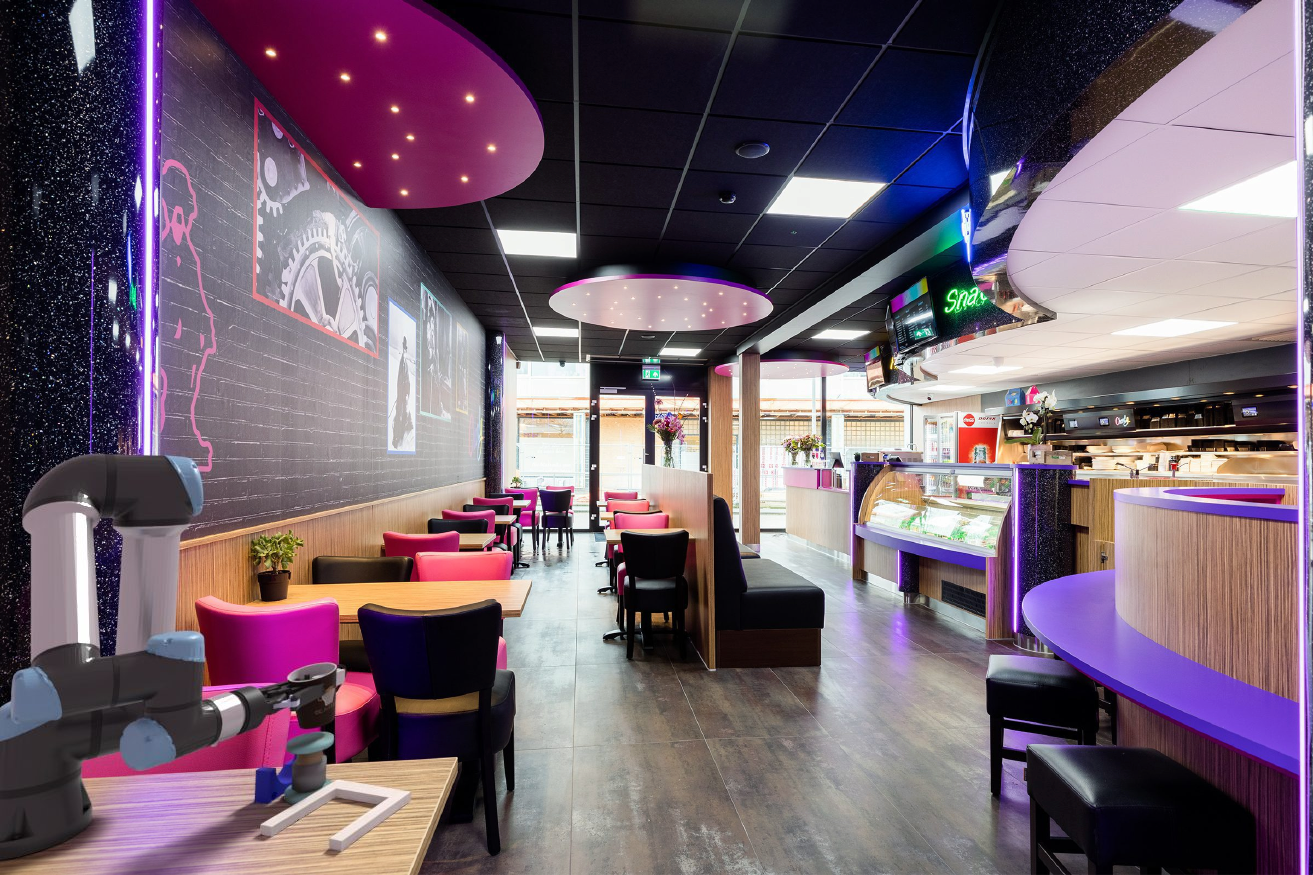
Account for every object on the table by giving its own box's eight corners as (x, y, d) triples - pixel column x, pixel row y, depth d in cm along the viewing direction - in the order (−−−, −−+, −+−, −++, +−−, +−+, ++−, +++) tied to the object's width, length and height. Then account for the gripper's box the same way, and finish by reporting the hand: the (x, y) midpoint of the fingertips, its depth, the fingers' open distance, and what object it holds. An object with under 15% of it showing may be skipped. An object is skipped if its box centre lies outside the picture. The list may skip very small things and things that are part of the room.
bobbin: (274, 800, 118) (276, 745, 119) (308, 781, 126) (310, 729, 127) (308, 806, 116) (310, 750, 117) (341, 786, 124) (343, 734, 124)
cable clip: (293, 773, 130) (294, 743, 130) (312, 774, 129) (314, 744, 129) (247, 802, 118) (248, 769, 118) (268, 804, 117) (270, 771, 118)
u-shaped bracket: (260, 834, 107) (260, 824, 107) (337, 787, 123) (337, 779, 123) (341, 850, 102) (341, 840, 102) (410, 800, 118) (411, 791, 118)
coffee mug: (300, 737, 119) (294, 685, 118) (286, 722, 125) (281, 673, 125) (363, 712, 127) (358, 664, 127) (348, 700, 133) (343, 654, 133)
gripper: (203, 731, 111) (316, 690, 133) (258, 741, 106) (366, 697, 129) (205, 687, 111) (317, 654, 134) (260, 695, 107) (367, 659, 129)
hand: (341, 675), depth 131 cm, fingers closed on coffee mug
